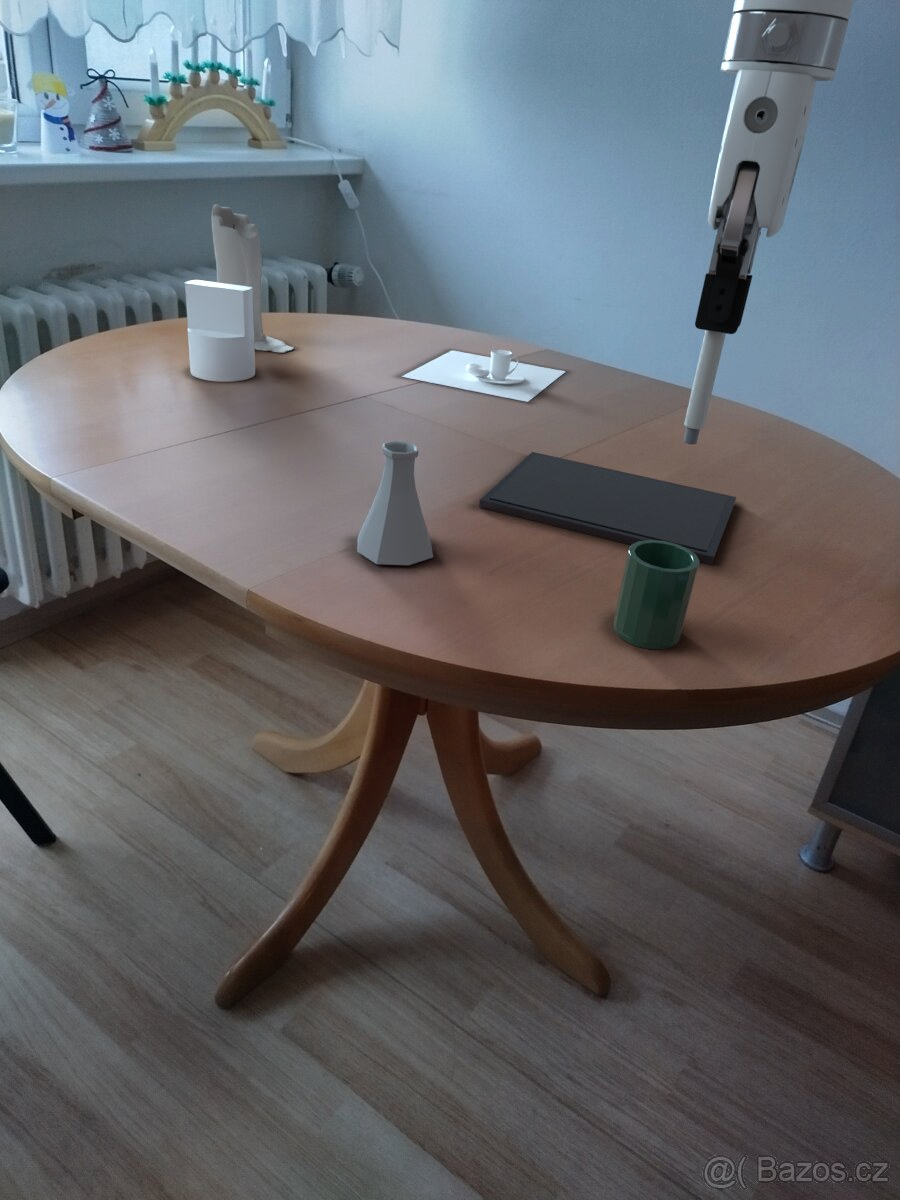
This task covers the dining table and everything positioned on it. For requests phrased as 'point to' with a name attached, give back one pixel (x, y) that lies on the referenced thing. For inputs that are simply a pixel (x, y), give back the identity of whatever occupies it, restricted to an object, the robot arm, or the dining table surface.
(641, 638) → the pen holder
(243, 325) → the base with upright slab
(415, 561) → the flask
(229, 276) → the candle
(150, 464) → the dining table surface
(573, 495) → the tablet
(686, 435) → the stylus
